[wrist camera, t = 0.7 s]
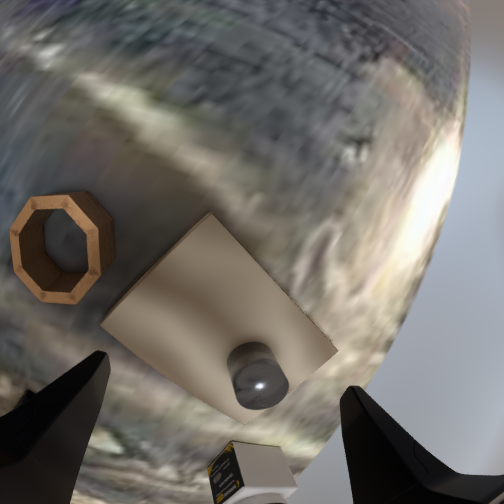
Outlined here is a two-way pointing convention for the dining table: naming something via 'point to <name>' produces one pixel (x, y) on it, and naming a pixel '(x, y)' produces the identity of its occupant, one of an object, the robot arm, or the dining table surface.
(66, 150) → the dining table surface
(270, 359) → the piston
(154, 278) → the piston stand
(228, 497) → the medicine bottle
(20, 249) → the ring
